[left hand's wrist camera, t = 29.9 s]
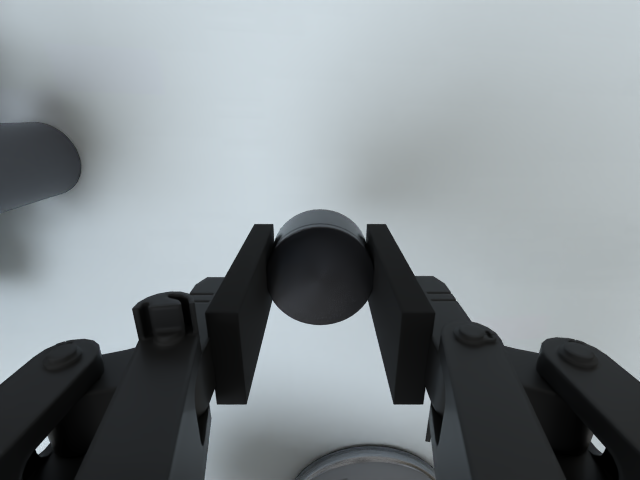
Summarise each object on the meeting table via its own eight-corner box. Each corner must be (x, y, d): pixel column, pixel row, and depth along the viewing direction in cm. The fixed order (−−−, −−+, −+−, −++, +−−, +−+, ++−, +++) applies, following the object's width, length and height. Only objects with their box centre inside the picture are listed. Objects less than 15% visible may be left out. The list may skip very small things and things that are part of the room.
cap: (382, 229, 14) (394, 250, 12) (344, 307, 15) (348, 338, 13) (292, 194, 13) (287, 209, 11) (260, 277, 15) (250, 304, 13)
